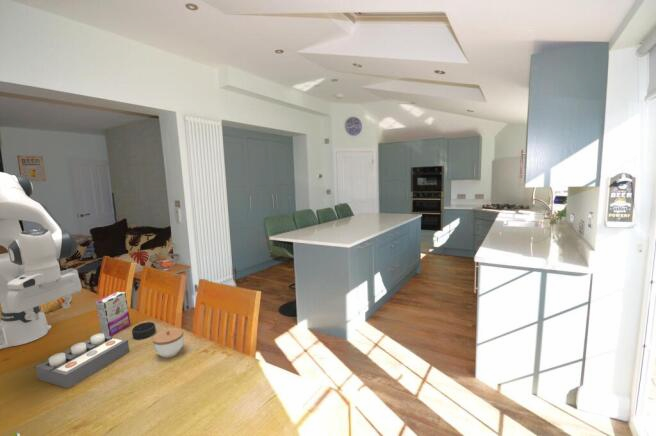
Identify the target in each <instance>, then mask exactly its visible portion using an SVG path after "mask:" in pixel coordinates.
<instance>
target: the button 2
mask: <svg viewBox="0 0 656 436" xmlns="http://www.w3.org/2000/svg"><path fill="white" fill-rule="evenodd" d="M84 342H85V341H83V342H77V343H75V344H73V345H72V346H71V347H70V349H71V353H72V355H75V356H77V357H78V356H80V355H82V354H84V353H86V352H87V349H86V343H84Z"/></svg>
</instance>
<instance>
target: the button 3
mask: <svg viewBox="0 0 656 436" xmlns="http://www.w3.org/2000/svg"><path fill="white" fill-rule="evenodd" d="M90 339H91V345H96V347H97V346H99V345H101V344H103V343H104V342H105V337H104V334H103V333H101V332H99V333H96V334H93V335H91V336H90Z"/></svg>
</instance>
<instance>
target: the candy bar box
mask: <svg viewBox="0 0 656 436" xmlns="http://www.w3.org/2000/svg"><path fill="white" fill-rule="evenodd" d="M95 304H96V311H97V316H98V322H99V326H100V333H103V334H104V335H105V336H110V337H114V336H115V335H116V334H118V333H120V332H121V331H123V330H124V329H126V328H127V327H129V326H130V325H131V319H130V311H129V307H128V301H127V295H126V291H116V292H114V293H111V294H109V295H108V296H105V297H103V298H101V299H99V300H97V301H95Z"/></svg>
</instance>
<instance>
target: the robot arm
mask: <svg viewBox="0 0 656 436" xmlns="http://www.w3.org/2000/svg"><path fill="white" fill-rule="evenodd" d="M33 190H34V188H33V184H32V182H31V180H30V178H28V177H27V176H26V175H24V174H9V173H7V172H2V171H0V246H1V247H4V248H5V249H6V250H7V252H5V253H0V306H1V311H0V350H2V349H6V348H11V347H16V346H20V345H21V346H22V345H25V344H28V343H31V342H33V341H36V340H39V339H40V338H42V337H44V336H46V335H47V334H48V332H49V331H50V330H51V329H52V328H53V327H52V325H50V324H48V321H47V319H46V318H47V317H46V315H45V314H46V313H43V312H40V305H42V304H45V303H48V302H51V301H54V300H57V299H60V298H66V299H65V302H64V303H63V304H62V307H61V308H62V309H63V310H64V309H65V310H66V309H69V308H71V304H70V303H71V300H72V298H73V294H77V293H79V292H81V291H82V289H83V286H82V282H81V280H80V277H79V271H78V270H77V269H76V268H73V267H70V268H67V269H62V270H61V268H60V263H59V261H58V260H63V259H70V258H71V257H72V256H73V255H74V254H75V253H76V252H77V250H78V242H77V239H76V238H75V236H74V235H73V233H71V232H69V231H68V230H67V229H66V228H65V227H64V226H63V224H62V223H61V222H60V221H59V220H58V219H57V217H55V215H54V214H53V212H51V211H50V209H49V208H48V207H47V206H46V205H44V204H43V203H42V202H41V203H40V202H37V201H36V200H33V199H32V198H31V196H32V195H33ZM20 221H25V222H32V223H37V224H40V225H41V226H42V227H43V228H41V227H37V228H29V229H25V230H22V226H21V224H20Z"/></svg>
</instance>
